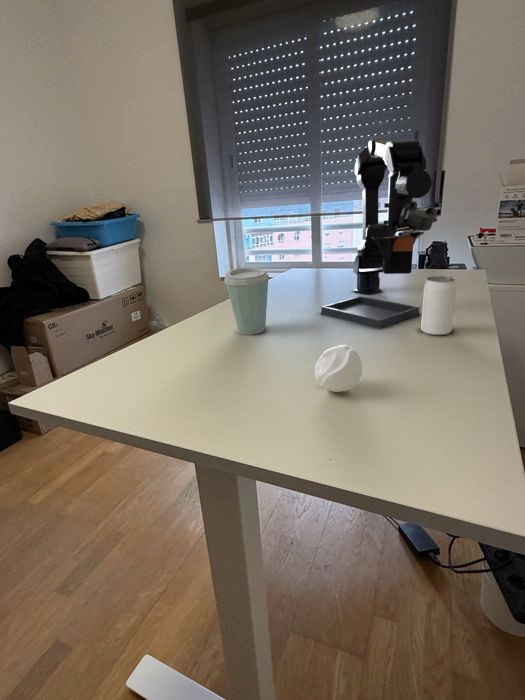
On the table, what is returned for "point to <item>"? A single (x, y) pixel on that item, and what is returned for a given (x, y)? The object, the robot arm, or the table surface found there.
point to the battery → (401, 255)
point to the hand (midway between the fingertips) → (397, 262)
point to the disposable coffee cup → (248, 298)
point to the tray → (370, 311)
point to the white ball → (338, 368)
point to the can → (438, 305)
